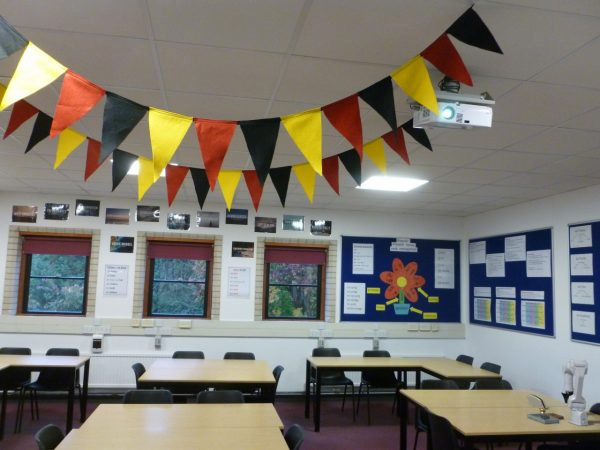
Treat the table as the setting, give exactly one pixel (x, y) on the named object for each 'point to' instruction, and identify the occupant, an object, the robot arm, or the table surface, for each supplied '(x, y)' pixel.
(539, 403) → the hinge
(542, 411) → the pin
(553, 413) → the holder
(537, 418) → the tray
